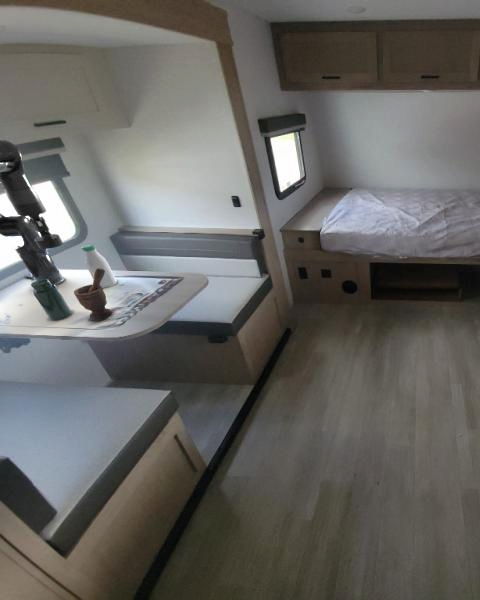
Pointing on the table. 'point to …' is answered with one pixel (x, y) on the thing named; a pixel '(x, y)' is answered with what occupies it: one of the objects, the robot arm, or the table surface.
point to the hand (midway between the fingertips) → (50, 243)
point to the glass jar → (50, 299)
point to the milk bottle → (98, 265)
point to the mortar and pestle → (94, 297)
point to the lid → (42, 243)
